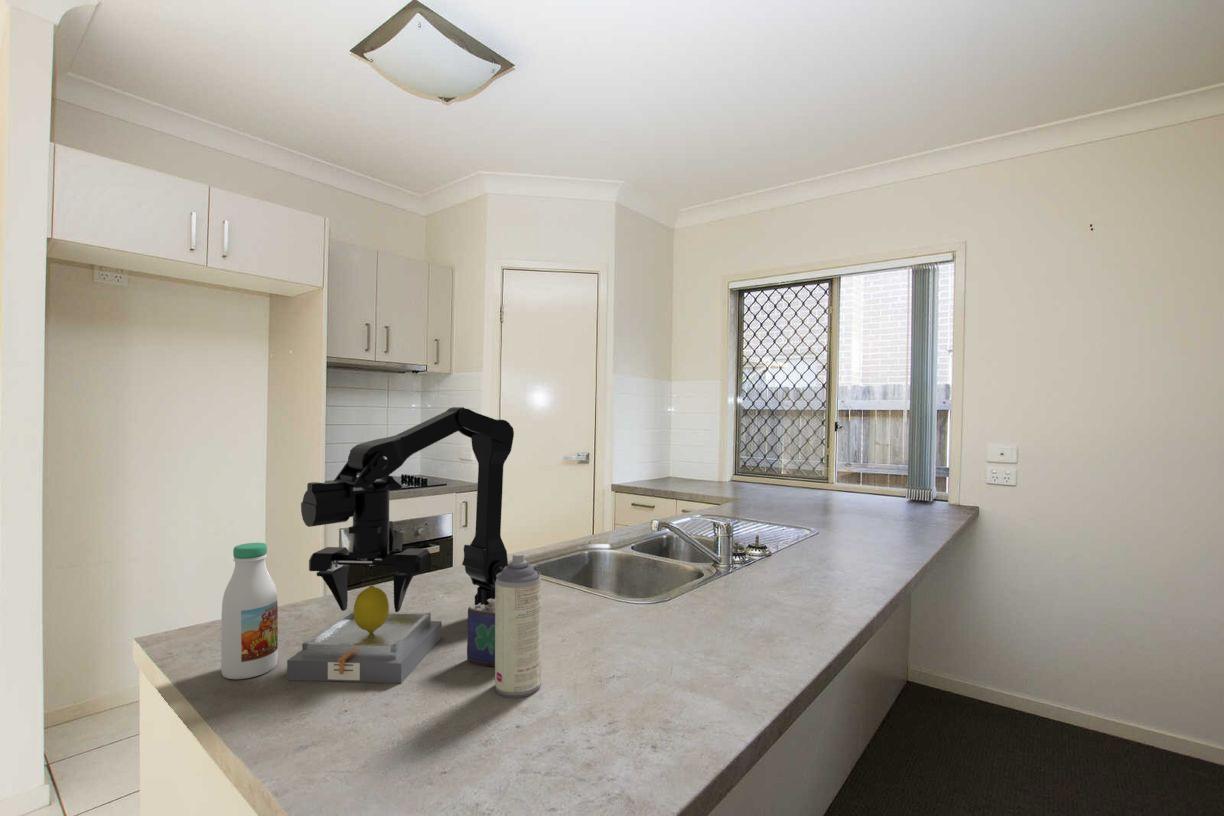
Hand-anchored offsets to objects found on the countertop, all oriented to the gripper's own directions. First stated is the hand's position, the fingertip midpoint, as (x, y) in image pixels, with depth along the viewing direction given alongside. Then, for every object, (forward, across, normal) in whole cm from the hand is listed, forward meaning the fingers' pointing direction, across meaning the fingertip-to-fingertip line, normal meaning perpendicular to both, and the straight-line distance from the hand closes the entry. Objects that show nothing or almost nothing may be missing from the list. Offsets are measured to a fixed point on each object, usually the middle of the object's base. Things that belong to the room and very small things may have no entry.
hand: (370, 610), depth 100 cm
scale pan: (+6, 0, +1) cm, 6 cm away
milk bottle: (+8, +17, +6) cm, 20 cm away
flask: (+8, -21, +1) cm, 23 cm away
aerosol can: (+8, -27, +9) cm, 30 cm away
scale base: (+8, 0, 0) cm, 8 cm away
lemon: (+4, 0, 0) cm, 4 cm away
